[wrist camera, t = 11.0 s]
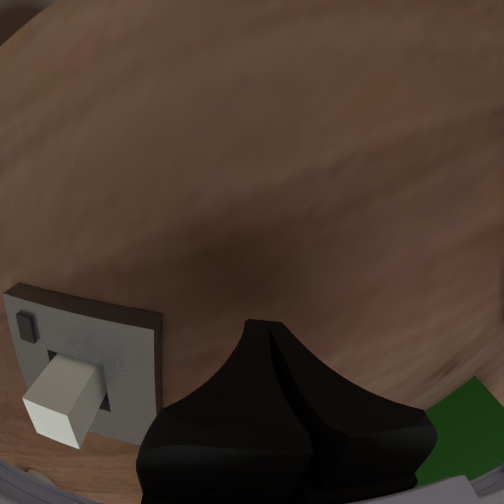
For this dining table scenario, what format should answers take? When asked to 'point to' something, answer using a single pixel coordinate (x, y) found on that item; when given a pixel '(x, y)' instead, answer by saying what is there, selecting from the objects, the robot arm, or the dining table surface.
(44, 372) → the plug
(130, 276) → the dining table surface
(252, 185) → the dining table surface
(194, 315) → the dining table surface
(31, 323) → the socket
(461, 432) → the hardback book
